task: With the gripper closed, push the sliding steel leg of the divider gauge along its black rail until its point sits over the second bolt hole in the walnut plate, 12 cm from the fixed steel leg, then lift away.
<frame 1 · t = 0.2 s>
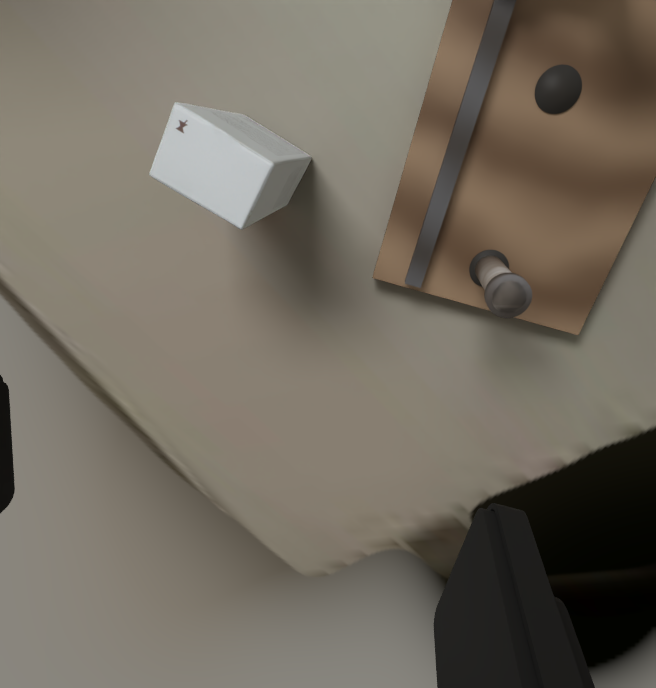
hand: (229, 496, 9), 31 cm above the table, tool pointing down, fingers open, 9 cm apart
skincare box: (267, 162, 37), on the table
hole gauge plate: (527, 154, 34), on the table
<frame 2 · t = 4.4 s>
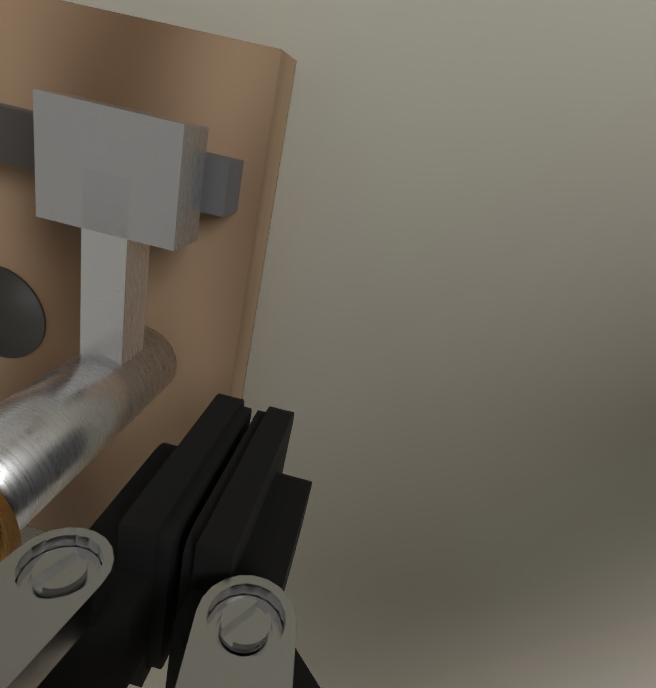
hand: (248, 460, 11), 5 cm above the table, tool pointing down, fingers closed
moving divider leg: (56, 317, 9), point 5 cm above the table, slide at 1.4 cm, touching gripper
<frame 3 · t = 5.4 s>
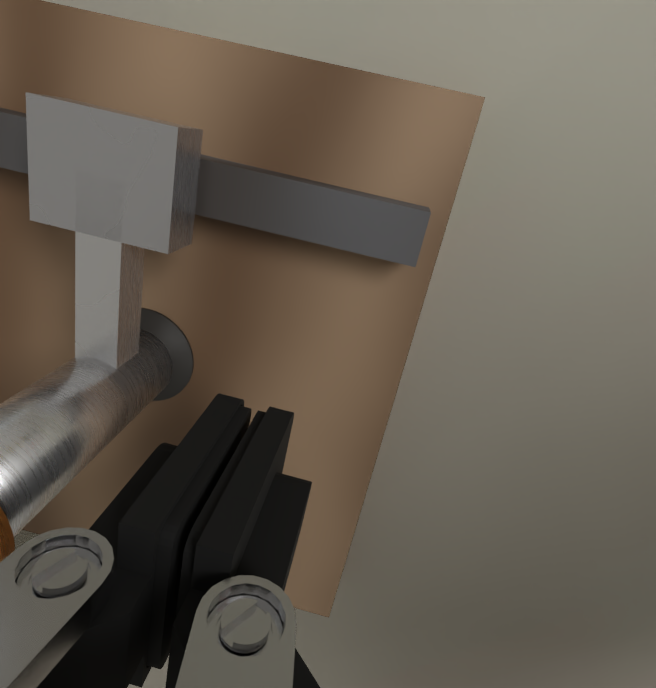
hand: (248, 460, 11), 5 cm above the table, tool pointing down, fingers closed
moving divider leg: (50, 321, 9), point 5 cm above the table, slide at 6.0 cm, touching gripper
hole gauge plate: (49, 305, 15), on the table
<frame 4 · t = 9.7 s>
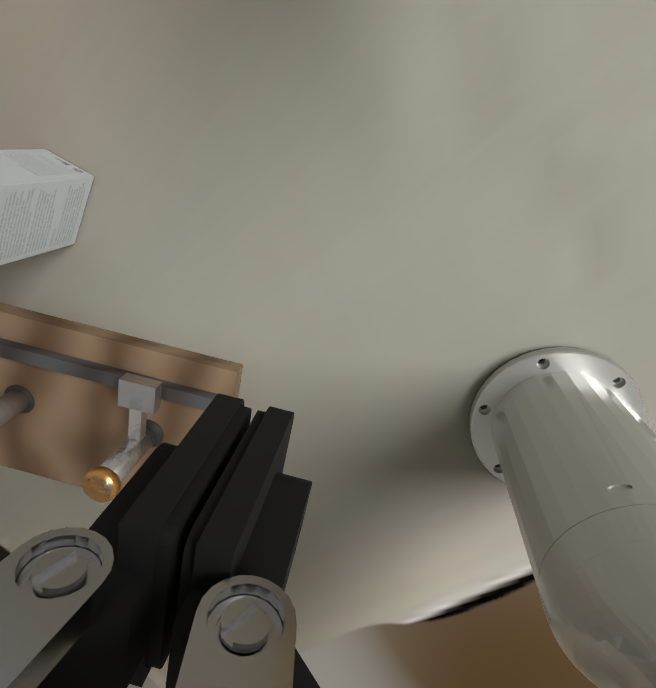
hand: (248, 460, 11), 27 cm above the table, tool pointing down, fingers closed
skincare box: (62, 198, 38), on the table
moving divider leg: (124, 434, 38), point 5 cm above the table, slide at 6.0 cm
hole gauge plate: (114, 413, 44), on the table
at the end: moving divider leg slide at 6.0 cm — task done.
